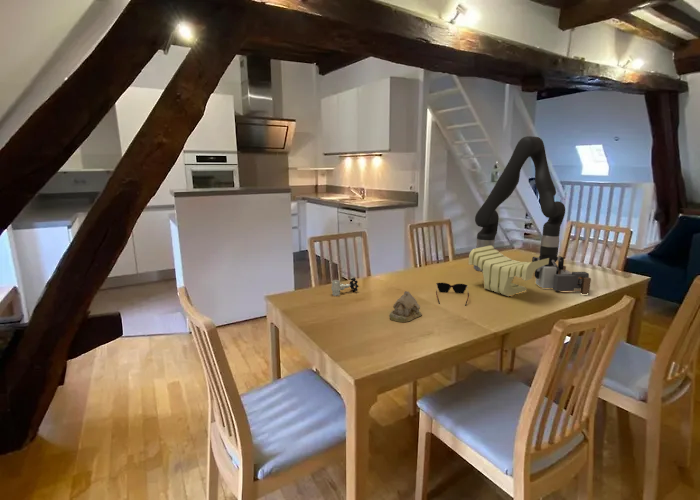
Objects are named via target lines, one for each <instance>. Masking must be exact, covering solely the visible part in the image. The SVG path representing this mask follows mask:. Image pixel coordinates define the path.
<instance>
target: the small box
mask: <svg viewBox="0 0 700 500" xmlns="http://www.w3.org/2000/svg"><path fill="white" fill-rule="evenodd" d="M556 271H557V268H556V267H554V266H544V267H543V268H541V269H540V275H539V279H537V278H536V277H535V283H536V284H537V285H539V286H540V287H542V288H553V283H554V275H555V274H556ZM536 284H535V285H536ZM537 285H536V286H537ZM539 286H538V287H539ZM540 287H539V288H540ZM542 288H541V289H542Z"/></svg>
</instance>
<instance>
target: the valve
mask: <svg viewBox="0 0 700 500" xmlns="http://www.w3.org/2000/svg"><path fill="white" fill-rule="evenodd" d="M359 287H360V286H359V284H358V280H356V277H353V278H352V277H351V278H350V281H349V283H341V281H340V280H338V279H332V281H331V287H330V288H331V293H332V295H331V296H334V297H338V296H341V295H340V294H341V291H344V290H345V289H348V288H350V289H351V290H352V292H358V291H359V289H358V288H359Z"/></svg>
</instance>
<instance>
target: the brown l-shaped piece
mask: <svg viewBox="0 0 700 500" xmlns="http://www.w3.org/2000/svg"><path fill="white" fill-rule="evenodd" d="M558 274H572V271H569V270H567V266H566V265H563V269H562V270H559V272H558ZM591 282H592V278H591V277H588V278H584V277H579V278H578V284H581V288H580V290H579V291H580V292H579V294H580V293H582V294H587V293H589V294H590V289H591Z"/></svg>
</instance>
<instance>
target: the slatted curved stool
mask: <svg viewBox="0 0 700 500" xmlns="http://www.w3.org/2000/svg"><path fill="white" fill-rule="evenodd" d="M547 264H549V258H547V259H543V260H538V261H534V262H532V261H519V260H515V259H512V258H511V257H508V256H506V255H504V254H503V253H502V252H500V251H499V250H498V249H495V246H494V247H493V246H492V245H491V246H485V247H480V248H476V247H475V248H473V249H472V250H471V251H470V252H469V255H468V266H469V265H470V266H474V265H475V266H478V267H479V268H480V269H481V270H482V269H483V271H482V276H483V288H484V289H485V290H487V291H491V292H493V291H494V293H496V294H500V293H501V294H500V295H503V296H507V297H509V295H513V294H516V293H519V292H522V291H525V290H527V287H526V286H523V285H520V284H517V283H513V280H514V279H515V277H517V278H519V279H520V278H521V279H522V280H524V281H529V280H532V279H533V275H534V274H535V270H537V269H538V268H540V267H542V266H544V265H547ZM527 291H528V290H527Z"/></svg>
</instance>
